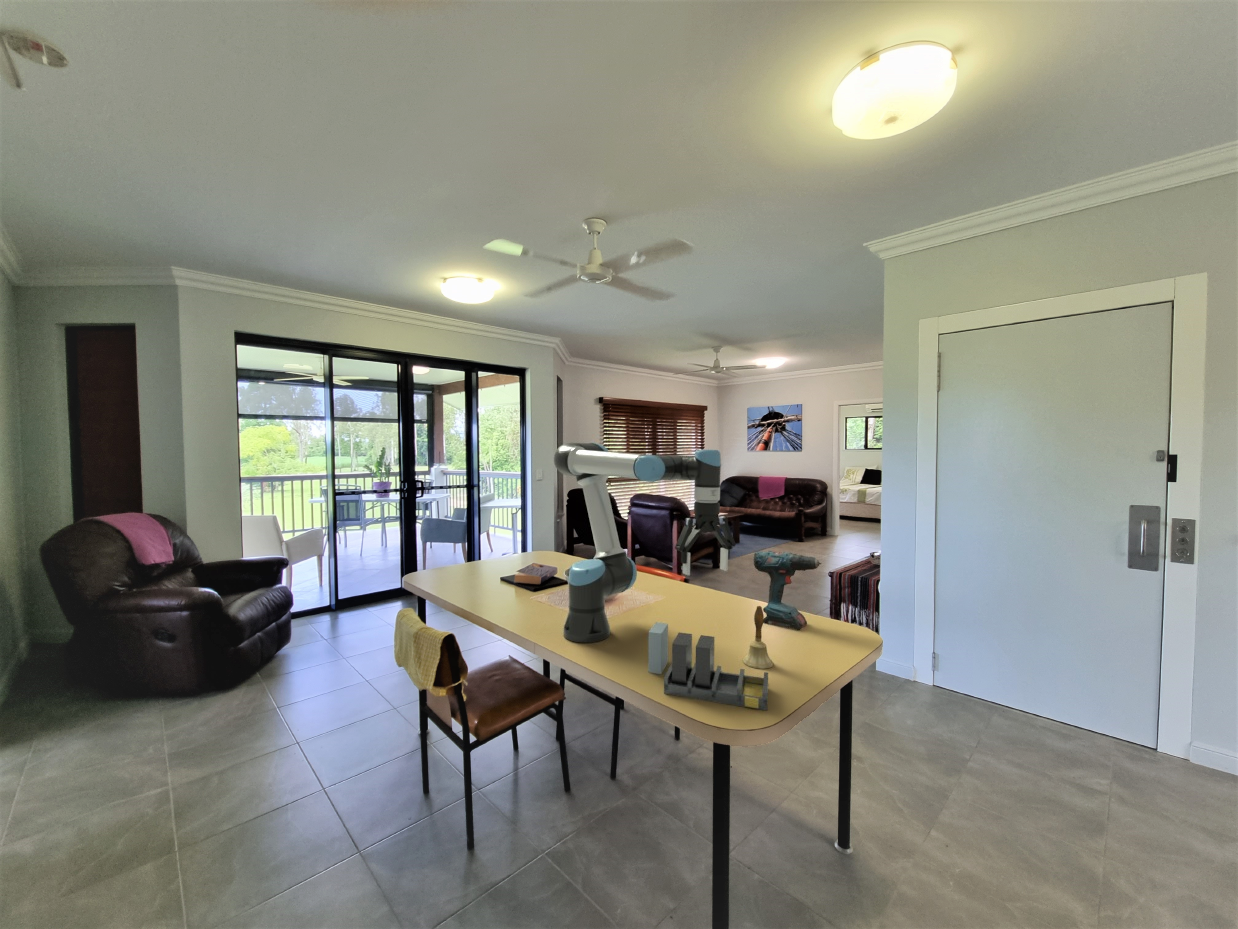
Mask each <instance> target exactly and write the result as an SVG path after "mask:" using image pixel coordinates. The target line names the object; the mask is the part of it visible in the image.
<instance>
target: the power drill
mask: <svg viewBox="0 0 1238 929" xmlns="http://www.w3.org/2000/svg"><path fill="white" fill-rule="evenodd" d="M819 560H820V559H818V558H816V557H814V556H805V555H802V554H796V553H794V554H793V553H792V552H787V551H786V552H785V551H784V552H781V551H780V552H776V551H772V550H768V551H757V552H755V553H754V554H753V566H754V568H755V569H756V570H757V571H758V572H762V573H765V574H767V575H768V576H769V578H770V580H769V582H770V583H769V587H768V588H769V589H768V602H767V605H766V606H764V607H762V611H763V613H765V616H764V621H763V624H767V625H770V626H771V625H772V626H775V627H776V626H777V627H781V628H785V629H792V630H794V631H802V629H804V628H805V626H807V624H808V622H807V619H806V617H805V615H803V614H802V613H801V612H800V611H798V609H797V607H796V606H794V605H792V604H787V603H786V602H785V603H784V602H782V601H783V600H782V599H783V594H784V589H785V586H787V585H791V584H792V583H793V582H792V579H791V577H793V576H795V574H796V572H797V571H798V572H799V571H803V572H805V571H806V570H808V571H809V570H815V569H816V570H817V569H818V567H820V565H822V563H821V562H820V561H819Z"/></svg>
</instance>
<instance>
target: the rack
mask: <svg viewBox="0 0 1238 929" xmlns="http://www.w3.org/2000/svg"><path fill="white" fill-rule="evenodd" d="M671 644H672V645H671V647H672V648H671V652H672V653H671V663H670V666H669V667H668V669H667V671H666V672H665V675H664V677H663V694H664V695H671V696H677V697H683V698H688V699H694V700H701V701H708V702H713V703H719V704H724V705H730V706H737V707H743V708H748V709H754V710H761V711H768V698H769V697H768V696H769V672H766V671H764V672H763V677H761V676H752V675H747V674H745V669H744V668H740V670H739V674H737V673H732V672H725V671H722V665H717V666H716V669H715V636H711V635H702V634H701V635H700V636H699V638H698V641H697V642H696V645H695V662H694V665H693V664H692V663H693V653H692V652H693V651H692V650H693V634H692V633H686V632H680V631H679V632H677V635H676V636H675V638H674V640H673V642H672V643H671ZM692 666H693V667H692Z"/></svg>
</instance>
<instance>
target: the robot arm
mask: <svg viewBox="0 0 1238 929" xmlns="http://www.w3.org/2000/svg"><path fill="white" fill-rule="evenodd" d="M721 461H722V459H721V452H720V451H719V450H718V449H696V450H695V451H694V455H676V454H670V455H657V454H642V453H641V454H640V453H630V452H616V451H609V449H607V447H606V446H604V445H602V444H599V443H595V442H589V443H587V442H586V443H585V442H566V443H563V444H561V445H560V446H559V447H558V448H557V450H556V451H555V453H554V457H553V462H554V466H555V468H556V470H557V471H558V472H560V474H561V475H565V476H568V477H569V476H570V477H575V478H576V482H577V484H578V485H579V486H580V487H582V491H583V495H584V500H585V505H586V509H587V513H588V518H589V523H590V527H591V532H592V537H593V542H594V546H595V550H596V551H595V555H594V557H593V559H592V558H591V559H589V558H588V559H583V560H580V561H579V560H578V561H577V562H574V563H573V564H572V565H571V566H570V567H569V571H568V572H569V574H568V579H567V580H568V612H567V617H566V619H565V622H564V625H563V637H564V638H565V639H566V640H568V641H571V642H575V643H587V644H588V643H596V642H600V641H603V640H606V639H607V638H608V637H610V635H611V627H610V623H609V620H608V617H607V613H606V610H605V599H606V598H607V597H610V596H614V595H617V594H621V593H624V592H626V591H627V590H629V589H631V588H632V587H633V586H634V585H635V582H636V581H637V574H638V571H637V569H638V568H637V566H636V563H635V562H634V560H632V558H631V557H628V556H627V550H625V549H623V548H622V547H621V543H620V540H619V535H618V531H617V525H616V522H615V517H614V513H613V512H614V511H613V509H612V508H613V507H612V503H611V498H610V494H609V490H608V486H607V480H608V478H609V477H615V478H617V477H618V478H623V479H624V478H626V479H634V480H635V479H636V480H640V481H642V482H647V483H655V482H661V481H662V482H663V481H665V482H666V481H693V482H694V494H693V499H694V500H695V501H694V502H693V513H694V518H690V517H685V519H684V526H683V528H682V530H681V532H680V534H679V537H678V538H677V541H676V544H675V546H674V550H676V551H679V552H680V563H681V564H682V574H683V575H685V576H690V575H691V552H689V551H690V549H691V548H692V547H693V545H694V543H695V542H696V541H697V539H699V537H700V536H701V535H702V534H708V533H713V535H714V536H715V538H716V539H717V541H718V542H719V543H720V545H721V546H722V547H720V555H719V556H720V557H719V558H720V559H719V560H720V563H719V565H720V566H719V568H720V569H719V570H722V571H725V572H728V571H729V570H728V568H729V567H728V565H729V560H730V556H731V554H730V553H731V550H733V547H736V541H735V538H734V536H733V534H732V531H731V528H730V525H729V519H728V517H727V516H723V515H720V510H721V505H720V502H719V501H720V500H721V469H722V468H721V467H722V462H721ZM719 515H720V516H719ZM718 525H720V528H719V526H718ZM693 526H694V527H693Z"/></svg>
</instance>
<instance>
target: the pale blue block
mask: <svg viewBox="0 0 1238 929" xmlns="http://www.w3.org/2000/svg"><path fill="white" fill-rule="evenodd" d="M668 640H669V623H665V622H658V621H656V622H655V623H654V624H653V625H652V627H651V628H650V629H649V631H648V666H647V667H648V673H651V674H658V675H662V673H663V672H664V670H665V668H666V666H667V664H668V663H669V659H668V658H669V641H668Z"/></svg>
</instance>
